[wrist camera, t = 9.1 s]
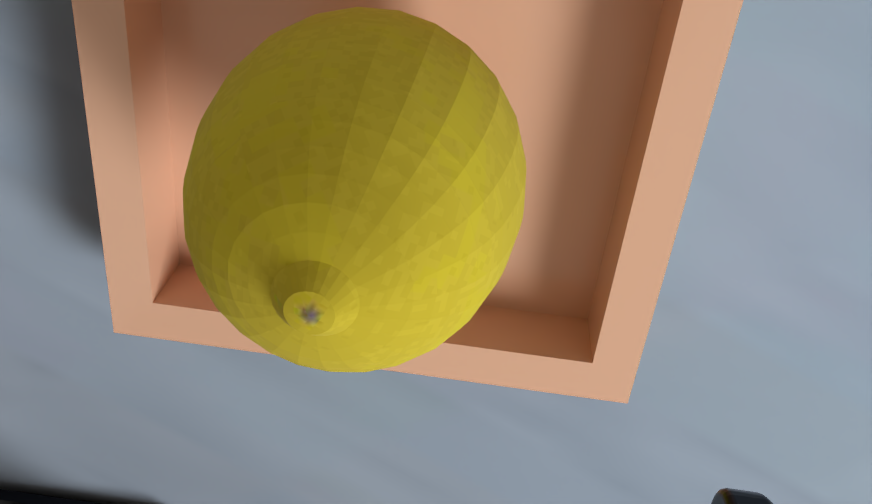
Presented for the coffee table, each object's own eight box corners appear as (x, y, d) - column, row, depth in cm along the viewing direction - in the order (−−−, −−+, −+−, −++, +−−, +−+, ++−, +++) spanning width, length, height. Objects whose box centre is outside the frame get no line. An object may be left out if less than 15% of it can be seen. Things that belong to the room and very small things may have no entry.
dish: (155, 275, 21) (114, 332, 19) (105, -271, 15) (35, -278, 13) (616, 338, 21) (627, 403, 19) (758, -195, 15) (797, -189, 13)
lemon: (494, 237, 19) (472, 506, 12) (257, 185, 19) (100, 426, 12) (558, -3, 16) (579, 171, 9) (280, -65, 16) (89, 63, 9)
